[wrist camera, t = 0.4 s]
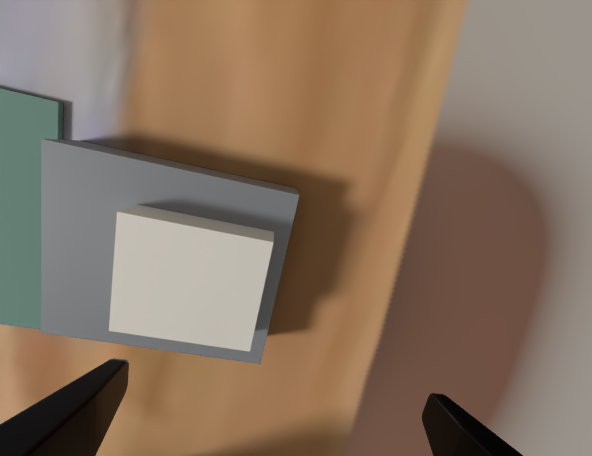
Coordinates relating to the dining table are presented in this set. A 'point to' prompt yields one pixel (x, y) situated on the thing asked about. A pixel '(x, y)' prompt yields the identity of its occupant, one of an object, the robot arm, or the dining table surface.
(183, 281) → the tile
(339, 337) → the dining table surface
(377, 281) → the dining table surface
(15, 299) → the mat
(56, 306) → the plate
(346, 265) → the dining table surface
